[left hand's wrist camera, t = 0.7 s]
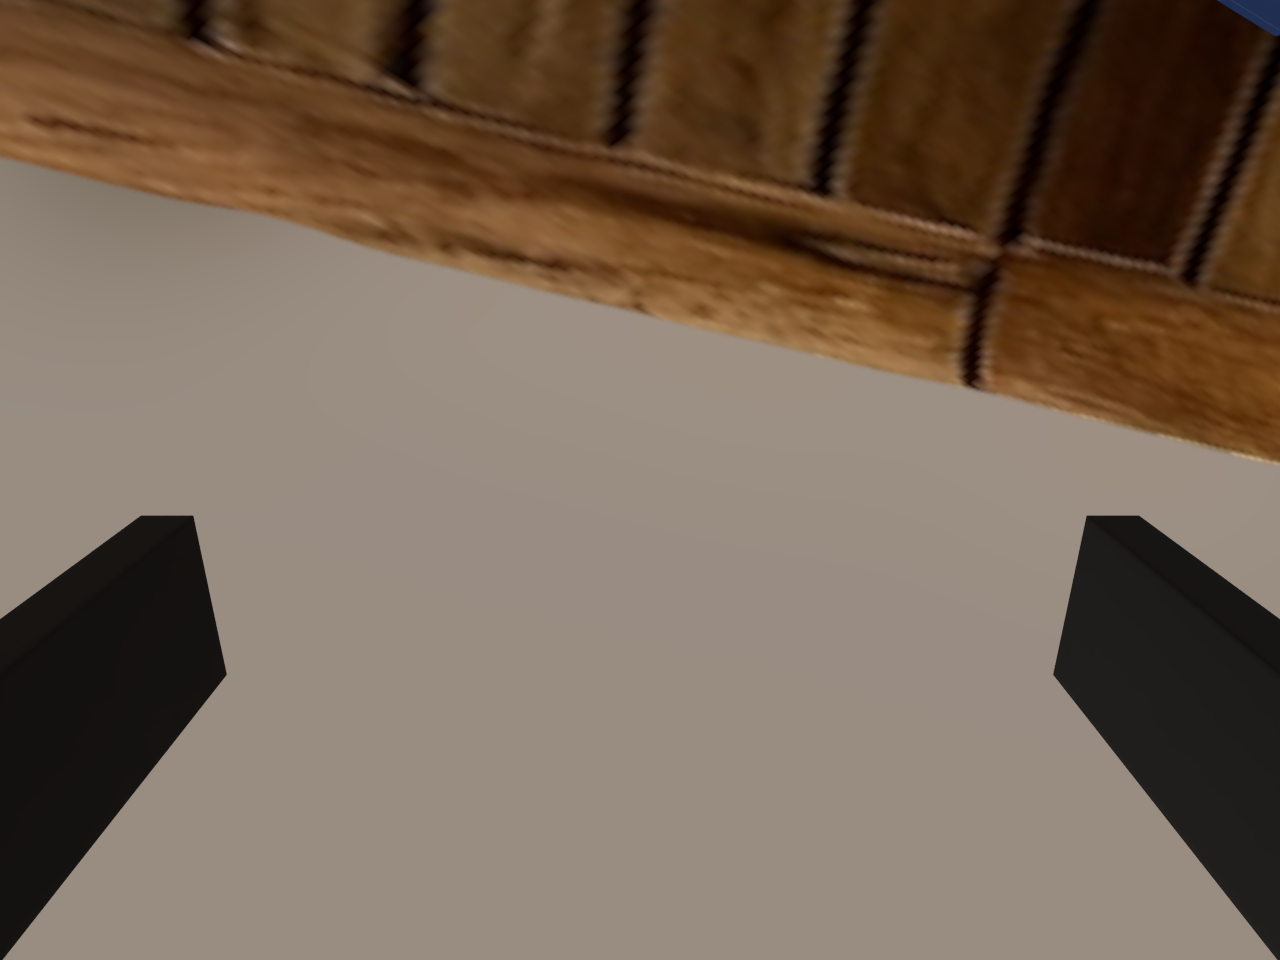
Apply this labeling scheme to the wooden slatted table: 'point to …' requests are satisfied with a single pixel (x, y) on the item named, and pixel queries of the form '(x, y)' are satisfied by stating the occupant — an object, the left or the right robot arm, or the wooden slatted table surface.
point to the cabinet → (1258, 12)
